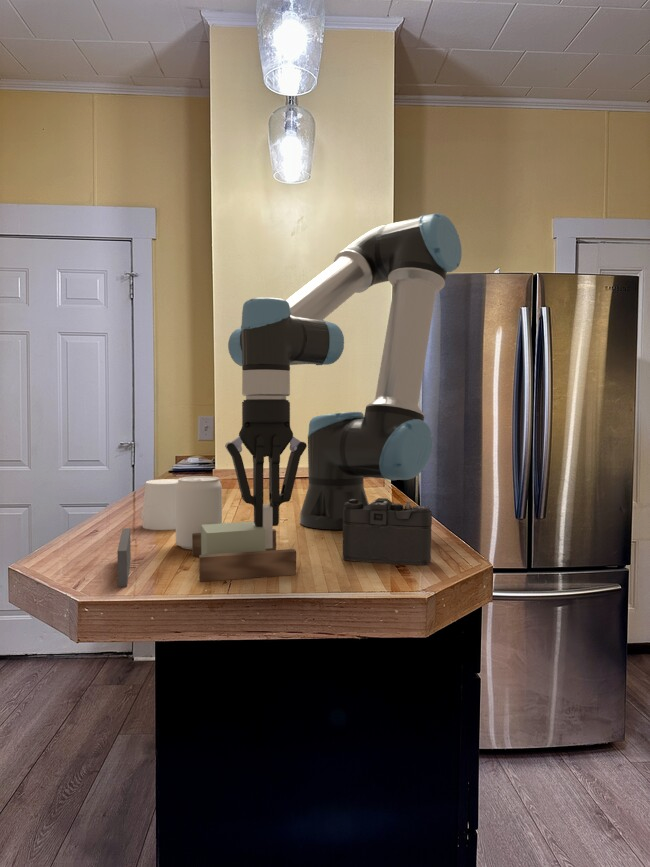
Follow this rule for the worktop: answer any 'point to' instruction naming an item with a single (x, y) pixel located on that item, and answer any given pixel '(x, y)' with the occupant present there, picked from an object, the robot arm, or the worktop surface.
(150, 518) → the mug
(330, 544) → the worktop surface
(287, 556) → the pair of brown rails
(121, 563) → the bar
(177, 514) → the beverage can
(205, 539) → the block
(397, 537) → the camera
